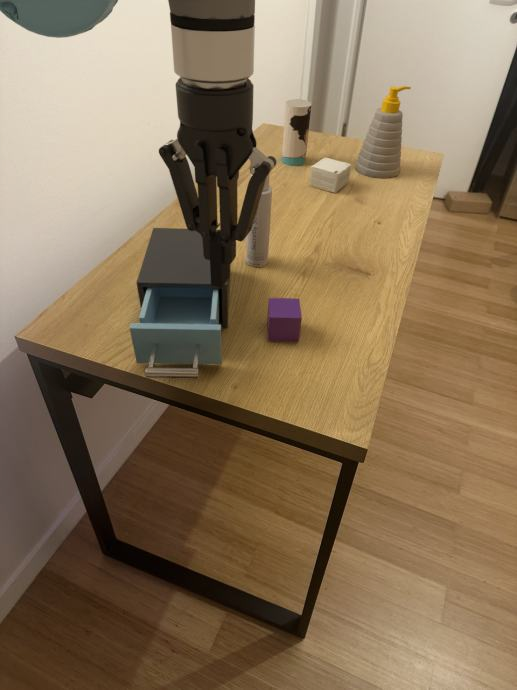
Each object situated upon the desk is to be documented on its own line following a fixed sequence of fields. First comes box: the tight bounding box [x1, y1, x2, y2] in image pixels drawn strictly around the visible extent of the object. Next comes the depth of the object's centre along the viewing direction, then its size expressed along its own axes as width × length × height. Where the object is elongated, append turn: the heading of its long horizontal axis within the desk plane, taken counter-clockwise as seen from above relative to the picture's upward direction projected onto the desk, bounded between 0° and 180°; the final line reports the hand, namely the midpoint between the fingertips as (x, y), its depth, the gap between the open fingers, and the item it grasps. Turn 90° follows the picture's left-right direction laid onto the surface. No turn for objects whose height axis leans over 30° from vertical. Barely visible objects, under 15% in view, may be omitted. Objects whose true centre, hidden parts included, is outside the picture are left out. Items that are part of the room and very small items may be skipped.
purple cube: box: [266, 297, 303, 342], centre depth 75 cm, size 5×5×5 cm
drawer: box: [129, 287, 223, 379], centre depth 70 cm, size 22×13×7 cm, turn 1°
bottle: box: [245, 173, 273, 268], centre depth 85 cm, size 4×4×20 cm
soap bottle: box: [354, 85, 412, 179], centre depth 121 cm, size 12×12×20 cm
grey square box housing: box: [136, 227, 232, 329], centre depth 79 cm, size 17×14×9 cm
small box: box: [308, 156, 352, 194], centre depth 118 cm, size 8×8×5 cm
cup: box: [281, 98, 313, 167], centre depth 125 cm, size 7×7×15 cm
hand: (220, 281), depth 60 cm, fingers closed
